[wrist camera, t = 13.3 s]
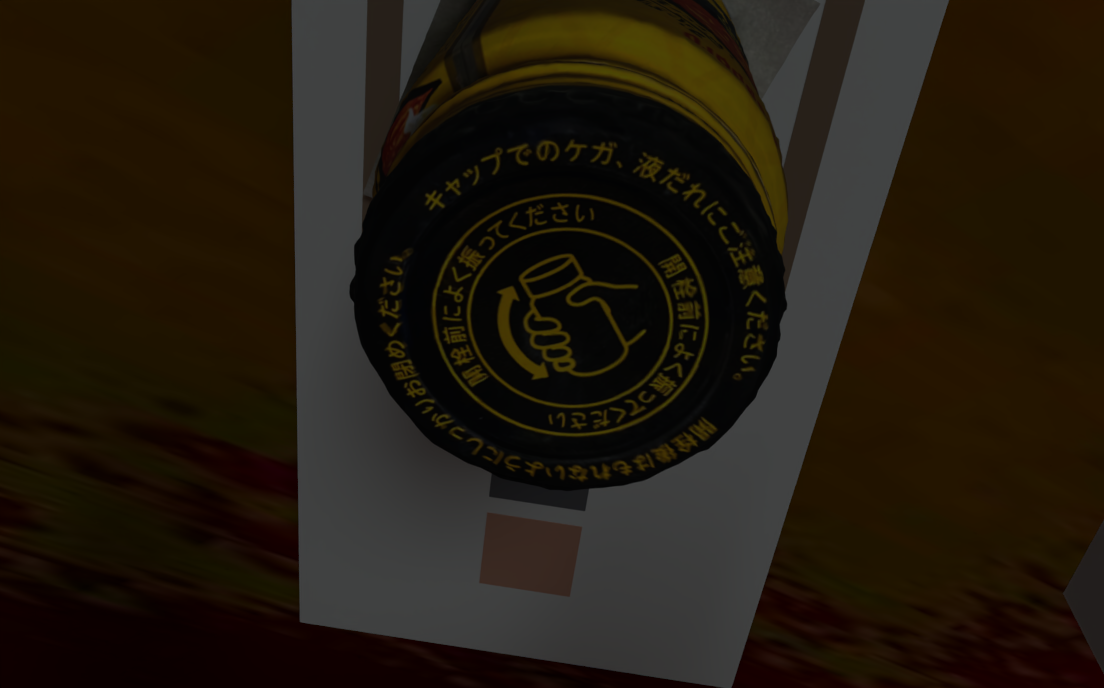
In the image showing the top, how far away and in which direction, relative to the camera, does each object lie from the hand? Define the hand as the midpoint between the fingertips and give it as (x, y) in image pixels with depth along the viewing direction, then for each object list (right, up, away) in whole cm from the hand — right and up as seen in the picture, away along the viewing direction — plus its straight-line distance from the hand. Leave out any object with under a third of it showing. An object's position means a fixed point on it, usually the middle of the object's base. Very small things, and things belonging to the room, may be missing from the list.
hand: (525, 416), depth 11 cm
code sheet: (+1, +1, +15) cm, 15 cm away
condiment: (+1, +6, +12) cm, 13 cm away
